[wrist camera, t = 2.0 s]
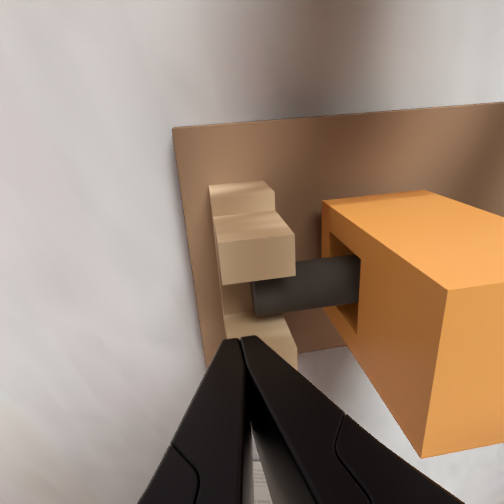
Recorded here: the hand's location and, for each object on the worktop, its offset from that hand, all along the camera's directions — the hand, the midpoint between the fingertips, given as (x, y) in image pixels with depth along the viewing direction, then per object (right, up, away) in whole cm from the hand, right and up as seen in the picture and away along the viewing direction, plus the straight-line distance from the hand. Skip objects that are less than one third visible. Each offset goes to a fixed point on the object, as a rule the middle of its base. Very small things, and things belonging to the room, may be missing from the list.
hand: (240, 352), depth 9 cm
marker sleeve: (+5, +3, +5) cm, 8 cm away
